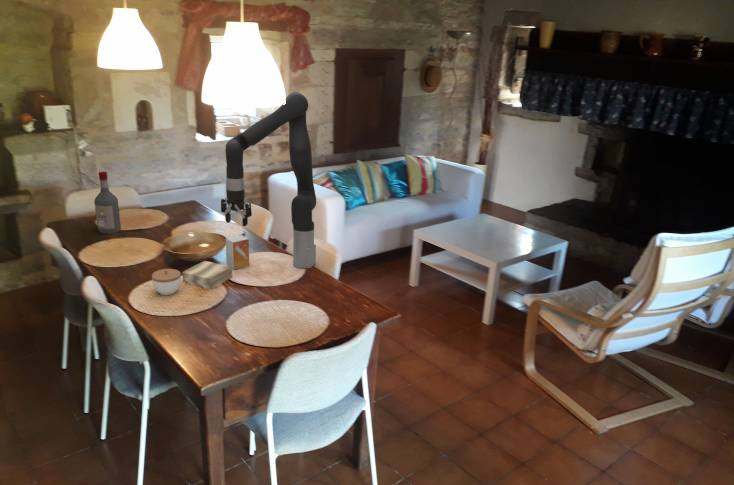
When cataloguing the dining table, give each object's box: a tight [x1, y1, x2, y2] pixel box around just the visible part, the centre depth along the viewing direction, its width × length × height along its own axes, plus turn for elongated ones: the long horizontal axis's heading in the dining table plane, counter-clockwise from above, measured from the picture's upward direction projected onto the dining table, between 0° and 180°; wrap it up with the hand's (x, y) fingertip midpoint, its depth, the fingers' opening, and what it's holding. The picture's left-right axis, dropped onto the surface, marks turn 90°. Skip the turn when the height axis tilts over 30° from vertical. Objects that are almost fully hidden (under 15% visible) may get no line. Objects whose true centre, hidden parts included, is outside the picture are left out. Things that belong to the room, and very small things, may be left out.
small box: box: [225, 234, 250, 271], centre depth 252 cm, size 8×6×13 cm
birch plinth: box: [181, 260, 233, 291], centre depth 239 cm, size 14×14×5 cm
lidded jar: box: [151, 268, 182, 296], centre depth 226 cm, size 11×11×9 cm
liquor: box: [93, 171, 122, 235], centre depth 283 cm, size 9×9×30 cm
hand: (236, 224), depth 248 cm, fingers open, 8 cm apart
